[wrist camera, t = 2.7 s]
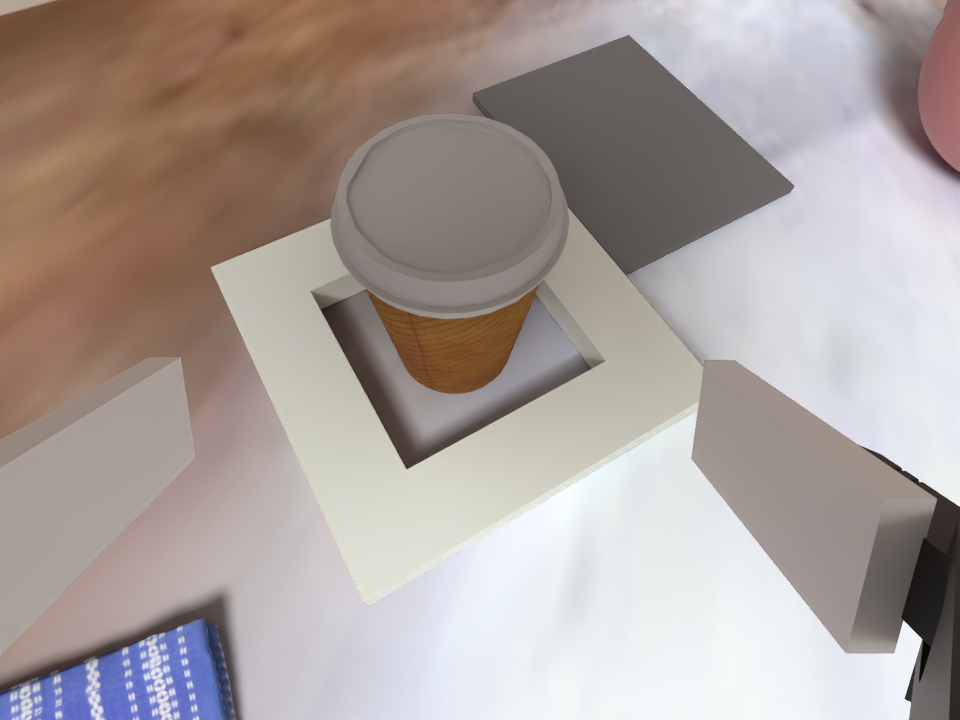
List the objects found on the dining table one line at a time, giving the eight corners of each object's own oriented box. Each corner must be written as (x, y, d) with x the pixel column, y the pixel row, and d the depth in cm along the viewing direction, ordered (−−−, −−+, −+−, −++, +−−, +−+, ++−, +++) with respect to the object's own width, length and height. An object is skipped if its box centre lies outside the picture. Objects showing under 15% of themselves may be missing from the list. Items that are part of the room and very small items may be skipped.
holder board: (223, 287, 34) (210, 267, 32) (511, 167, 39) (514, 143, 37) (369, 605, 26) (363, 601, 24) (706, 403, 31) (721, 388, 29)
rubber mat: (472, 100, 42) (473, 93, 41) (626, 42, 45) (628, 35, 45) (621, 277, 35) (623, 271, 34) (790, 192, 38) (794, 185, 38)
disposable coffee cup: (462, 248, 36) (461, 74, 25) (574, 350, 33) (626, 199, 22) (336, 337, 33) (273, 180, 22) (445, 458, 30) (434, 344, 19)
